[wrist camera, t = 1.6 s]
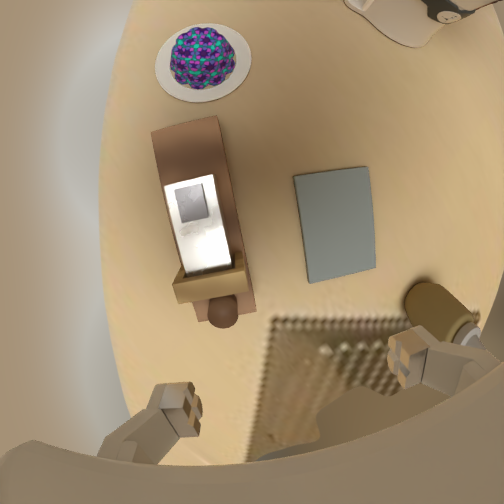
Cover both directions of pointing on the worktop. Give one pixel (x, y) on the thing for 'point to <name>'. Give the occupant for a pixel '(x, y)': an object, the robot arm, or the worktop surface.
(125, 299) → the worktop surface
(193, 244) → the lever cap
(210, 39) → the pudding
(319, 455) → the robot arm
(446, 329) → the squeeze bottle
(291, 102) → the worktop surface
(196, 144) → the brown stand
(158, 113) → the worktop surface
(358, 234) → the rubber mat
